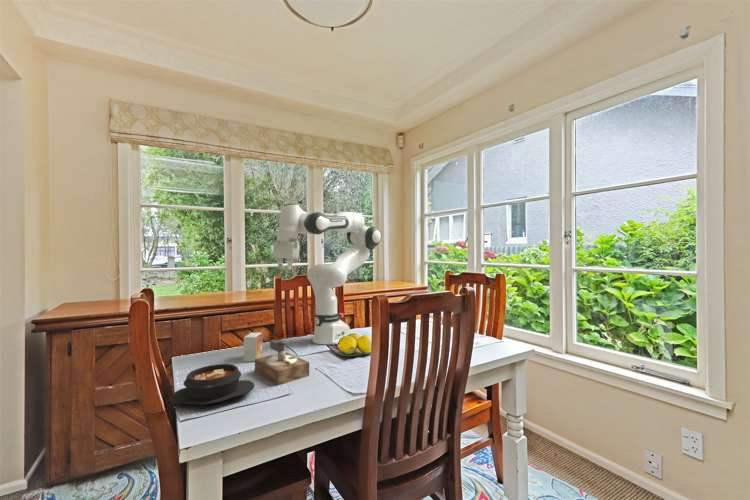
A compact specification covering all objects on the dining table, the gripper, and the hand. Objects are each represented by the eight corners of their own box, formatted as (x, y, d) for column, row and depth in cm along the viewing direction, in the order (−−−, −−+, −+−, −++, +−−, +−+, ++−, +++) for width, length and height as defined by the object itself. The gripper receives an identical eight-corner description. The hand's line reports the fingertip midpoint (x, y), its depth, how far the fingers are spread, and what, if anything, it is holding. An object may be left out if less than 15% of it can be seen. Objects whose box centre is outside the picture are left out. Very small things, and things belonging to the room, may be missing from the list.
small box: (256, 362, 145) (256, 337, 145) (243, 361, 145) (243, 337, 145) (263, 355, 153) (262, 332, 153) (250, 355, 153) (250, 332, 153)
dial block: (284, 363, 143) (284, 350, 143) (309, 375, 130) (309, 361, 130) (254, 371, 134) (254, 358, 134) (278, 385, 121) (277, 370, 121)
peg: (294, 362, 129) (294, 344, 129) (285, 365, 126) (285, 346, 126) (276, 354, 138) (276, 337, 138) (268, 356, 136) (268, 338, 136)
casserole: (161, 417, 99) (160, 388, 99) (177, 391, 117) (176, 366, 117) (253, 403, 107) (253, 376, 106) (255, 381, 124) (254, 358, 124)
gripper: (304, 239, 152) (301, 270, 152) (284, 239, 168) (281, 267, 167) (290, 237, 148) (287, 269, 148) (272, 237, 164) (269, 266, 163)
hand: (284, 268), depth 158 cm, fingers open, 8 cm apart
